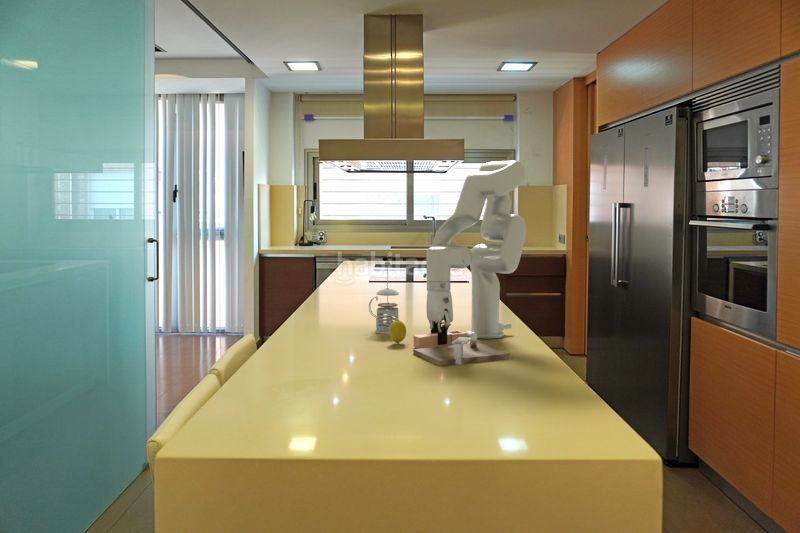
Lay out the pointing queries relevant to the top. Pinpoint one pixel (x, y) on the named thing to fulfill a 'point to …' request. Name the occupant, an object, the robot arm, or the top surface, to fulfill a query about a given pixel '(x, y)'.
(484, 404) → the top surface
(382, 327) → the french press
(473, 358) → the walnut plate
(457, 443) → the top surface
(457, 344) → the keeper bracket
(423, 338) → the link
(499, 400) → the top surface
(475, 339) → the cylinder
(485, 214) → the robot arm
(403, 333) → the lemon
